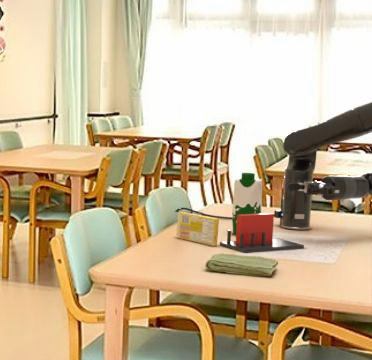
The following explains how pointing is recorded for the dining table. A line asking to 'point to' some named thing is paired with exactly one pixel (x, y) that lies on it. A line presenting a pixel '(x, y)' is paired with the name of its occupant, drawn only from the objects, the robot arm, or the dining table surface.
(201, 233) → the candy box
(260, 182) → the milk carton
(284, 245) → the dish rack
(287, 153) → the robot arm
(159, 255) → the dining table surface
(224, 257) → the washcloth
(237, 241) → the red rectangular block
